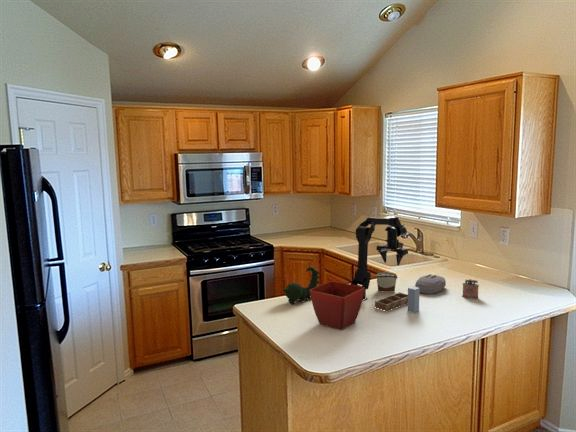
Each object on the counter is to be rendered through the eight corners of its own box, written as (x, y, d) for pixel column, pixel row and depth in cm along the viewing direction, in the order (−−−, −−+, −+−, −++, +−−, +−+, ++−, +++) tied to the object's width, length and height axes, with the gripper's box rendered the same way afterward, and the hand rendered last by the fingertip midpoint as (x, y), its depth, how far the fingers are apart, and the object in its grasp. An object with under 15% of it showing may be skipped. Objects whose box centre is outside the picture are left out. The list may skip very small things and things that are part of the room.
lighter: (461, 297, 229) (462, 279, 228) (462, 295, 232) (463, 277, 230) (478, 299, 225) (478, 281, 224) (478, 297, 228) (479, 279, 227)
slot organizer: (386, 311, 210) (386, 305, 209) (374, 307, 216) (374, 301, 215) (411, 302, 223) (411, 295, 223) (399, 298, 229) (399, 292, 229)
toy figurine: (310, 296, 240) (276, 303, 224) (312, 264, 239) (278, 268, 222) (321, 300, 233) (288, 307, 217) (323, 267, 232) (289, 271, 215)
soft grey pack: (424, 283, 255) (409, 291, 240) (425, 270, 254) (410, 277, 239) (449, 288, 245) (435, 297, 230) (450, 274, 244) (435, 282, 229)
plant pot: (331, 312, 211) (331, 280, 208) (365, 321, 198) (365, 286, 196) (309, 324, 196) (308, 289, 194) (344, 334, 184) (343, 297, 182)
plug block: (414, 313, 207) (414, 289, 206) (407, 310, 211) (407, 287, 209) (419, 311, 210) (419, 287, 208) (412, 309, 213) (412, 286, 211)
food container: (395, 288, 246) (395, 272, 245) (397, 291, 240) (397, 275, 239) (374, 288, 248) (374, 271, 246) (375, 291, 241) (375, 274, 240)
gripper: (414, 238, 241) (413, 264, 243) (387, 233, 255) (387, 258, 257) (402, 240, 234) (401, 267, 236) (375, 236, 248) (375, 262, 250)
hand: (391, 263), depth 245 cm, fingers open, 9 cm apart
